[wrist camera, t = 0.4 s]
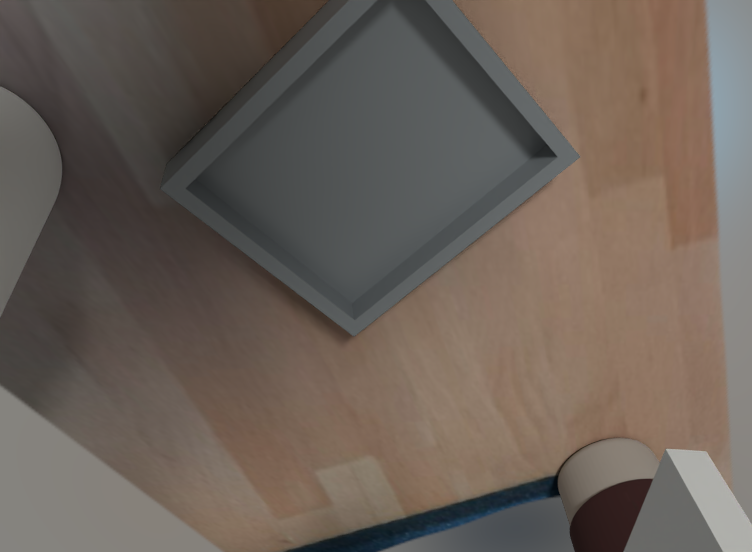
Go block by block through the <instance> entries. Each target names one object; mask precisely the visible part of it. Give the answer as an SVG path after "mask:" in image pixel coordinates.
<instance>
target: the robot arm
mask: <svg viewBox="0 0 752 552" xmlns="http://www.w3.org/2000/svg"><path fill="white" fill-rule="evenodd" d="M624 552H752V524H751V522H750V521H749V519H748V518H747V516H746V514H745V513H744V511H743V510H742V508H741V506H740V505H739V503H738V502H737V500H736V498H735V497H734V495H733V494H732V492H731V490H730V489H729V487H728V486H727V484H726V482H725V481H724V479H723V478H722V476H721V474H720V473H719V471H718V470H717V468H716V466H715V465H714V463H713V462H712V460H711V458H710V457H709V455H708V454H707V452H706V451H693V450H677V449H665V452H664V454H663V456H662V459H661V461H660V464H659V466H658V469H657V471H656V474H655V476H654V478H653V481H652V483H651V486H650V488H649V491H648V493H647V496H646V498H645V501H644V503H643V505H642V508H641V510H640V513H639V515H638V518H637V520H636V523H635V525H634V527H633V530H632V532H631V535H630V537H629V540H628V542H627V545H626V547H625V550H624Z"/></svg>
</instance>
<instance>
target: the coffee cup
mask: <svg viewBox="0 0 752 552" xmlns="http://www.w3.org/2000/svg"><path fill="white" fill-rule="evenodd" d="M659 464H660V462H659V461H658V459H657V458H656V456H655V455H654V453H653V452H652V450H651V449H650V448H649V447H647V446H646V445H645V444H643V443H641V442H639V441H637V440H633V439H629V438H611V439H605V440H601V441H598V442H595V443H592V444H590V445H588V446H586V447H584V448H582V449H580V450H579V451H578V452H576V453H575V454H574V455H572V456H571V457H570V458H569V459H568V460H567V461H566V463H565V464H564V465H563V467H562V469H561V471H560V474H559V477H558V489H559V493H560V496H561V499H562V502H563V505H564V508H565V511H566V515H567V518H568V521H569V524H570V537H571V540H572V544H573V547H574V550H575V552H624V550H625V547H626V545H627V542H628V540H629V537H630V535H631V532H632V530H633V527H634V525H635V523H636V520H637V518H638V515H639V513H640V510H641V508H642V505H643V503H644V501H645V498H646V496H647V493H648V491H649V488H650V486H651V483H652V481H653V478H654V476H655V474H656V471H657V469H658V466H659Z"/></svg>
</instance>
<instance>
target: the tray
mask: <svg viewBox="0 0 752 552" xmlns="http://www.w3.org/2000/svg"><path fill="white" fill-rule="evenodd" d="M578 158H580V156H579V154H578V153H577V152H576V151H575V150H574V148H573V147H572V146H571V145H570V143H569V142H568V141H567V140H566V139H565V137H564V136H563V135H562V134H561V132H560V131H559V130H558V129H557V128H556V126H555V125H554V124H553V123H552V121H551V120H550V119H549V118H548V117H547V115H546V114H545V113H544V112H543V110H542V109H541V108H540V107H539V106H538V104H537V103H536V102H535V101H534V99H533V98H532V97H531V96H530V95H529V93H528V92H527V91H526V90H525V89H524V87H523V86H522V85H521V84H520V82H519V81H518V80H517V79H516V78H515V76H514V75H513V74H512V73H511V71H510V70H509V69H508V68H507V67H506V65H505V64H504V63H503V62H502V60H501V59H500V58H499V57H498V56H497V54H496V53H495V52H494V51H493V50H492V48H491V47H490V46H489V45H488V43H487V42H486V41H485V40H484V39H483V37H482V36H481V35H480V34H479V32H478V31H477V30H476V29H475V28H474V26H473V25H472V24H471V23H470V21H469V20H468V19H467V18H466V17H465V15H464V14H463V13H462V12H461V11H460V9H459V8H458V7H457V6H456V4H455V3H454V2H453V1H452V0H329V1H328V2H327V3H326V4H325V5H324V6H323V7H322V8H321V9H320V10H319V11H318V12H317V13H316V14H315V15H314V16H313V17H312V18H311V19H310V20H309V21H308V22H307V23H306V24H305V25H304V26H303V27H302V28H301V29H300V30H299V31H298V32H297V33H296V34H295V35H294V36H293V37H292V38H291V39H290V40H289V41H288V42H287V43H286V44H285V45H284V46H283V47H282V48H281V49H280V50H279V51H278V52H277V53H276V54H275V55H274V57H273V58H272V59H271V60H270V61H269V62H268V63H267V64H266V65H265V66H264V67H263V68H262V69H261V70H260V71H259V72H258V73H257V74H256V75H255V76H254V77H253V78H252V79H251V80H250V81H249V82H248V83H247V84H246V85H245V86H244V87H243V88H242V89H241V90H240V91H239V92H238V93H237V94H236V95H235V96H234V97H233V98H232V99H231V100H230V101H229V102H228V103H227V104H226V105H225V106H224V107H223V108H222V109H221V110H220V111H219V112H218V113H217V114H216V115H215V116H214V117H213V118H212V119H211V120H210V121H209V122H208V123H207V124H206V125H205V126H204V127H203V128H202V129H201V130H200V131H199V132H198V133H197V134H196V135H195V136H194V137H193V138H192V139H191V140H190V141H189V142H188V143H187V144H186V145H185V146H184V147H183V148H182V149H181V150H180V151H179V152H178V153H177V154H176V155H175V156H174V157H173V158H172V159H171V160H170V161H169V163H168V164H167V165H166V168H165V172H164V175H163V179H162V183H161V187H160V189H161V190H162V191H163V192H165V193H166V194H167V195H169V196H170V197H171V198H173V199H174V200H175V201H177V202H178V203H179V204H180V205H182V206H183V207H184V208H186V209H187V210H188V211H190V212H191V213H192V214H194V215H195V216H196V217H198V218H199V219H200V220H201V221H203V222H204V223H205V224H207V225H208V226H209V227H211V228H212V229H213V230H215V231H216V232H217V233H219V234H220V235H221V236H222V237H224V238H225V239H226V240H228V241H229V242H230V243H232V244H233V245H234V246H236V247H237V248H238V249H240V250H241V251H242V252H243V253H245V254H246V255H247V256H249V257H250V258H251V259H253V260H254V261H255V262H257V263H258V264H259V265H261V266H262V267H263V268H265V269H266V270H267V271H268V272H270V273H271V274H272V275H274V276H275V277H276V278H278V279H279V280H280V281H282V282H283V283H284V284H286V285H287V286H288V287H289V288H291V289H292V290H293V291H295V292H296V293H297V294H299V295H300V296H301V297H303V298H304V299H305V300H307V301H308V302H309V303H310V304H312V305H313V306H314V307H316V308H317V309H318V310H320V311H321V312H322V313H324V314H325V315H326V316H328V317H329V318H330V319H332V320H333V321H334V322H335V323H337V324H338V325H339V326H341V327H342V328H343V329H345V330H346V331H347V332H349V333H350V334H351V335H353V336H356V335H357V334H358V333H359V332H361V331H362V330H363V329H364V328H366V327H367V326H368V325H369V324H371V323H372V322H373V321H374V320H376V319H377V318H378V317H379V316H381V315H382V314H383V313H384V312H386V311H387V310H388V309H390V308H391V307H392V306H393V305H395V304H396V303H397V302H398V301H400V300H401V299H402V298H403V297H405V296H406V295H407V294H408V293H410V292H411V291H412V290H413V289H415V288H416V287H417V286H418V285H420V284H421V283H422V282H424V281H425V280H426V279H427V278H429V277H430V276H431V275H432V274H434V273H435V272H436V271H437V270H439V269H440V268H441V267H442V266H444V265H445V264H446V263H447V262H449V261H450V260H451V259H452V258H454V257H455V256H456V255H457V254H459V253H460V252H461V251H463V250H464V249H465V248H466V247H468V246H469V245H470V244H471V243H473V242H474V241H475V240H476V239H478V238H479V237H480V236H481V235H483V234H484V233H485V232H486V231H488V230H489V229H490V228H491V227H493V226H494V225H495V224H497V223H498V222H499V221H500V220H502V219H503V218H504V217H505V216H507V215H508V214H509V213H510V212H512V211H513V210H514V209H515V208H517V207H518V206H519V205H520V204H522V203H523V202H524V201H525V200H527V199H528V198H529V197H531V196H532V195H533V194H534V193H536V192H537V191H538V190H539V189H541V188H542V187H543V186H544V185H546V184H547V183H548V182H549V181H551V180H552V179H553V178H554V177H556V176H557V175H558V174H559V173H561V172H562V171H563V170H565V169H566V168H567V167H568V166H570V165H571V164H572V163H573V162H575V161H576V160H577V159H578Z"/></svg>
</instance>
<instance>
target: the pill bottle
mask: <svg viewBox="0 0 752 552" xmlns="http://www.w3.org/2000/svg"><path fill="white" fill-rule="evenodd" d="M61 180H62V160H61V155H60V151H59V148H58V145H57V142H56V140H55V138H54V136H53V134H52V132H51V130H50V129H49V127H48V126H47V124H46V123H45V121H44V120H43V119H42V118H41V116H40V115H39V114H38V113H37V112H36V111H35V110H34V109H33V108H32V107H31V106H30V105H29V104H28V103H26V102H25V101H24V100H23V99H21V98H20V97H18V96H17V95H15V94H14V93H12V92H11V91H9V90H7V89H5V88H3V87H1V86H0V317H1V315H2V313H3V311H4V309H5V306H6V304H7V302H8V300H9V298H10V296H11V294H12V292H13V290H14V287H15V285H16V283H17V281H18V279H19V277H20V275H21V273H22V271H23V269H24V266H25V264H26V262H27V260H28V258H29V256H30V254H31V252H32V250H33V247H34V245H35V243H36V241H37V239H38V237H39V235H40V233H41V231H42V228H43V226H44V224H45V222H46V220H47V218H48V216H49V214H50V212H51V209H52V207H53V205H54V203H55V201H56V199H57V196H58V193H59V189H60V185H61Z"/></svg>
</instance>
